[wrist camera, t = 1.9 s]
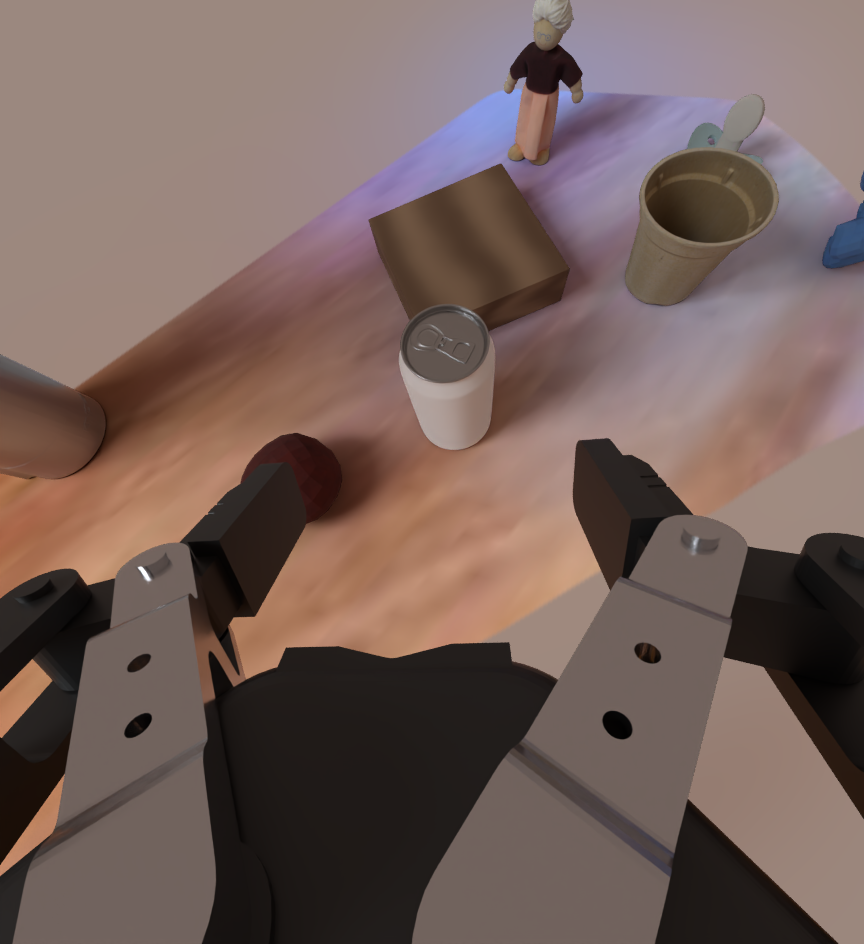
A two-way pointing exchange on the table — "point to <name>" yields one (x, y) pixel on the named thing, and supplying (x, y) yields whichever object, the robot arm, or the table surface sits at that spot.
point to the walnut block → (471, 250)
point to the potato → (304, 469)
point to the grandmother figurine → (543, 80)
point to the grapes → (846, 241)
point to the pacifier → (732, 127)
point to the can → (449, 374)
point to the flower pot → (695, 219)
